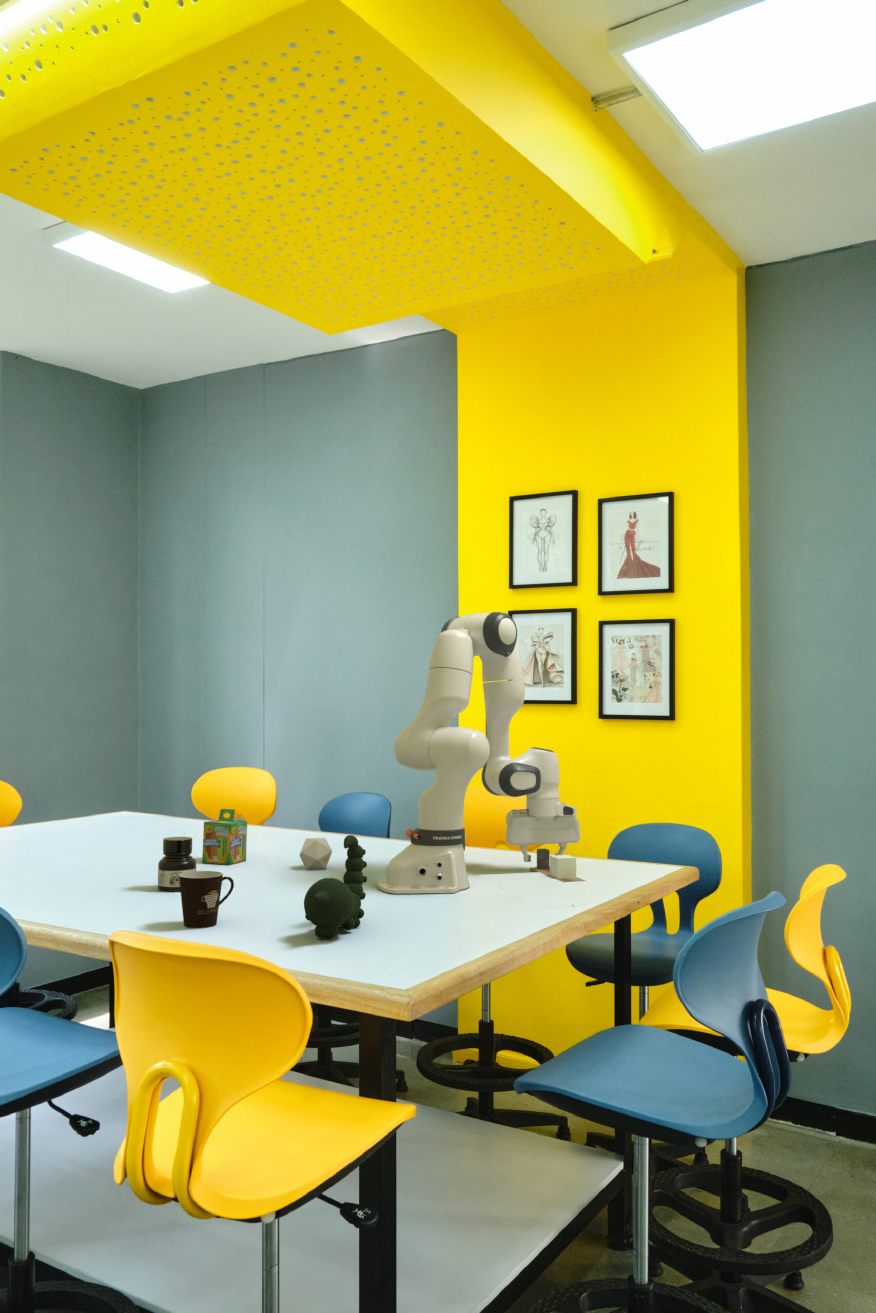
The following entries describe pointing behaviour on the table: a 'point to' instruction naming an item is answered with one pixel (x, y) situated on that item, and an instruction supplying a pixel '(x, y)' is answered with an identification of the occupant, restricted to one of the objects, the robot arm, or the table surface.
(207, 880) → the coffee mug
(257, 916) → the table surface
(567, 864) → the cube
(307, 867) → the die
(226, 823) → the chalk box
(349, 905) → the toy figurine
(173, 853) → the ink bottle
